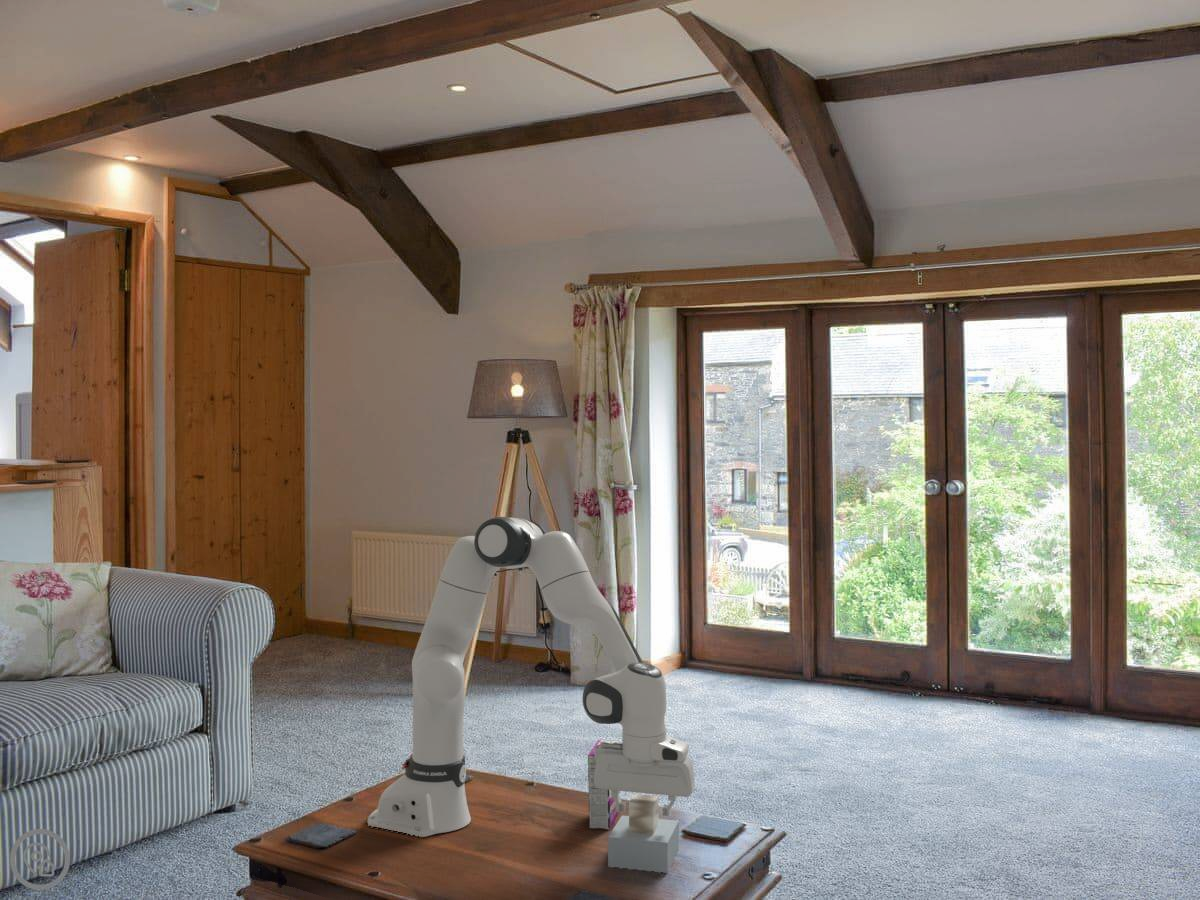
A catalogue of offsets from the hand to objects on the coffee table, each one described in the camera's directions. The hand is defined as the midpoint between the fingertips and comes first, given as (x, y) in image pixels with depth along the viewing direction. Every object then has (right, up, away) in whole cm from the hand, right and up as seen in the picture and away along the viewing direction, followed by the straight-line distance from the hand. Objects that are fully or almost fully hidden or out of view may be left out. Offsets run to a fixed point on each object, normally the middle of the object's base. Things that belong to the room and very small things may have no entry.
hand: (643, 813), depth 219 cm
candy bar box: (-8, -9, +21) cm, 24 cm away
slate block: (0, -9, 0) cm, 9 cm away
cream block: (0, -3, 0) cm, 3 cm away
